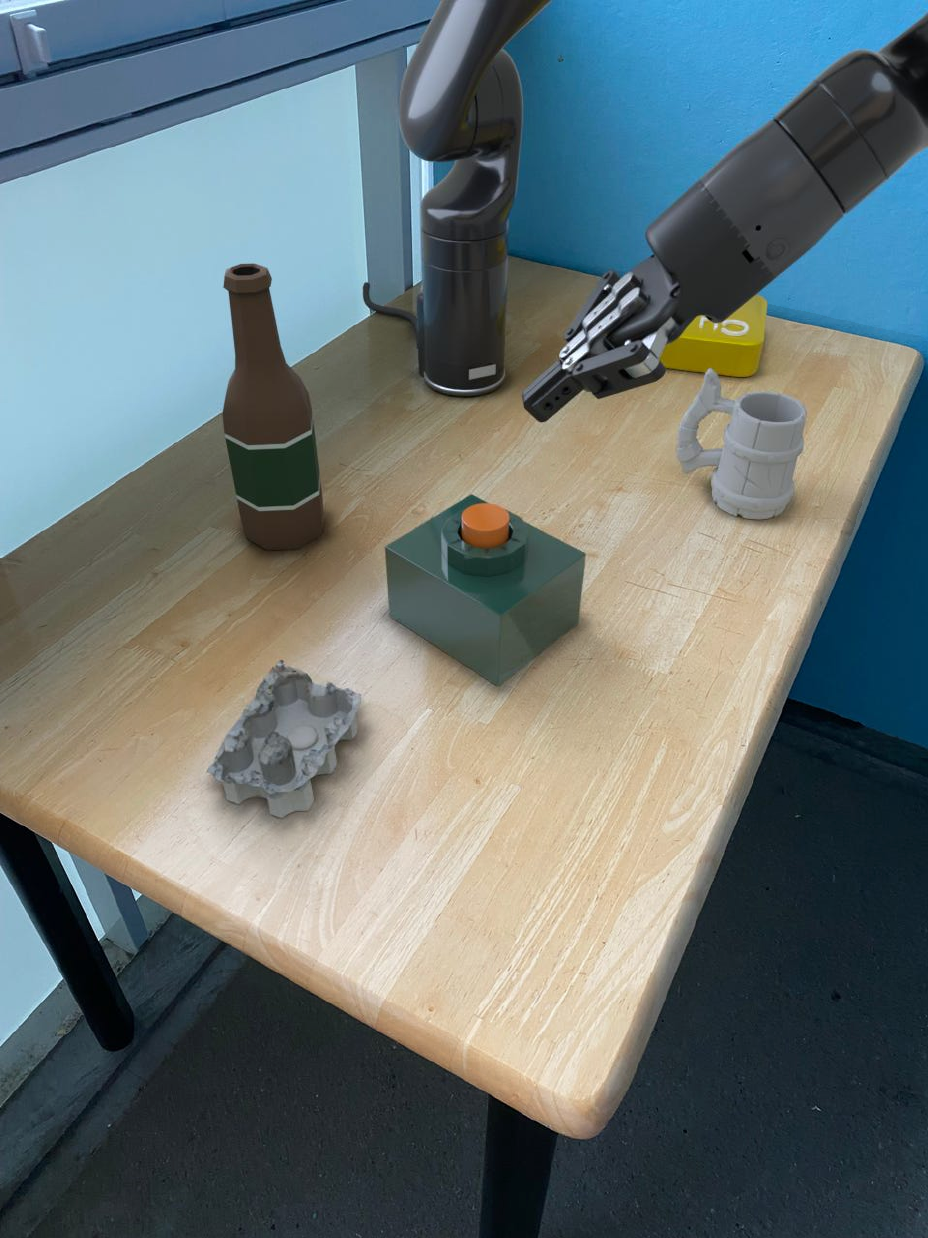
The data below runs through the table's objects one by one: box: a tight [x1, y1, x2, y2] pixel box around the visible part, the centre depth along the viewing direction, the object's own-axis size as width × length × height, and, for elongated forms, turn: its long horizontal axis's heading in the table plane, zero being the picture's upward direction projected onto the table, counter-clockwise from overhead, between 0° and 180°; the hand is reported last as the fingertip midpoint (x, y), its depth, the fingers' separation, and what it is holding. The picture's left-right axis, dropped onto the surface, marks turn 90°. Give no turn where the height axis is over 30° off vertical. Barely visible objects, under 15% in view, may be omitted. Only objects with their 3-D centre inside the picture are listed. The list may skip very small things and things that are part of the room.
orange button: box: [462, 502, 510, 548], centre depth 70 cm, size 4×4×2 cm
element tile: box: [659, 294, 768, 378], centre depth 113 cm, size 15×15×5 cm
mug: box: [675, 368, 808, 520], centre depth 87 cm, size 8×12×12 cm, turn 62°
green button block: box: [384, 493, 587, 687], centre depth 74 cm, size 12×10×9 cm
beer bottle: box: [221, 263, 324, 551], centre depth 78 cm, size 8×8×24 cm
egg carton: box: [205, 659, 362, 819], centre depth 64 cm, size 11×8×4 cm
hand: (530, 409), depth 64 cm, fingers closed
